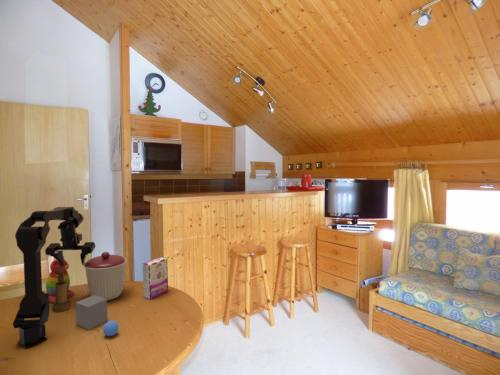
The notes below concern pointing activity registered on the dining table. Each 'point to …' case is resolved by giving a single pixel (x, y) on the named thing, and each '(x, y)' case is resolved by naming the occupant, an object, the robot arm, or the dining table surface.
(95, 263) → the canister
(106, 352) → the dining table surface
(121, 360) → the dining table surface
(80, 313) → the grey matte cube
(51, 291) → the stacking bear
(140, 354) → the dining table surface
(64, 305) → the brown turned post
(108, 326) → the ball
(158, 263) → the candy bar box
